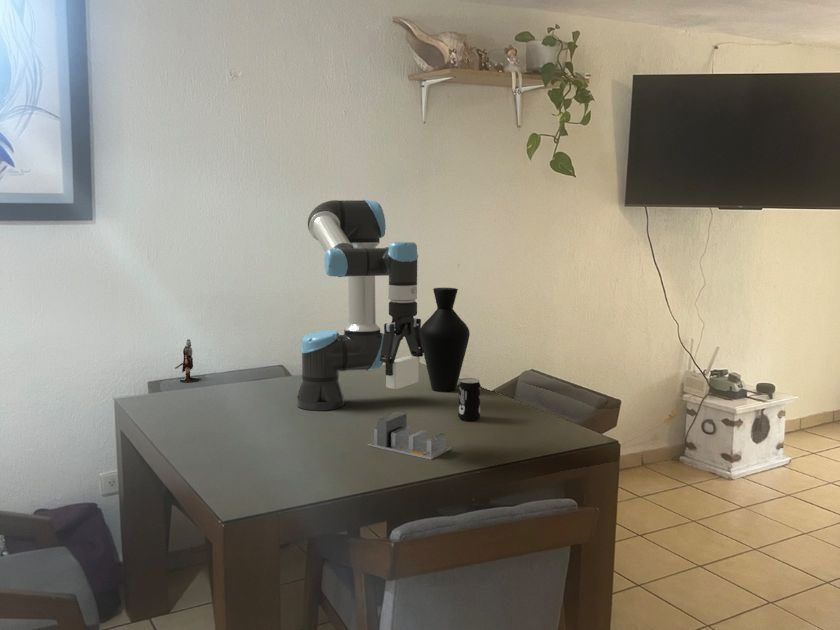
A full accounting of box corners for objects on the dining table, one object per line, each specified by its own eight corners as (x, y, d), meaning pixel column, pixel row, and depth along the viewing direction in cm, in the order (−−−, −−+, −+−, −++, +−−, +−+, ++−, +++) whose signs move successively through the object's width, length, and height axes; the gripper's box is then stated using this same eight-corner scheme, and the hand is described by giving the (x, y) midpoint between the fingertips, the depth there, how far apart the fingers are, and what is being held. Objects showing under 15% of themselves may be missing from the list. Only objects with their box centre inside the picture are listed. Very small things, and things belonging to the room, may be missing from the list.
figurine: (196, 383, 281) (194, 341, 278) (175, 382, 281) (173, 340, 278) (201, 378, 287) (200, 337, 285) (181, 378, 287) (179, 337, 285)
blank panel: (387, 387, 209) (387, 361, 208) (408, 380, 217) (408, 355, 216) (396, 389, 207) (396, 362, 206) (417, 382, 216) (417, 356, 215)
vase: (433, 397, 265) (435, 293, 259) (410, 386, 280) (411, 287, 274) (477, 392, 273) (480, 290, 267) (452, 381, 288) (454, 285, 282)
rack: (367, 445, 214) (367, 418, 213) (389, 436, 222) (389, 409, 221) (431, 459, 203) (431, 430, 202) (450, 449, 212) (451, 421, 211)
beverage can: (478, 422, 237) (479, 383, 235) (456, 421, 238) (457, 382, 236) (481, 416, 243) (482, 378, 241) (459, 415, 244) (460, 377, 242)
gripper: (389, 305, 198) (389, 393, 201) (438, 298, 217) (437, 378, 219) (365, 303, 202) (365, 389, 205) (415, 296, 221) (415, 375, 224)
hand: (402, 383), depth 212 cm, fingers closed on blank panel, 10 cm apart
